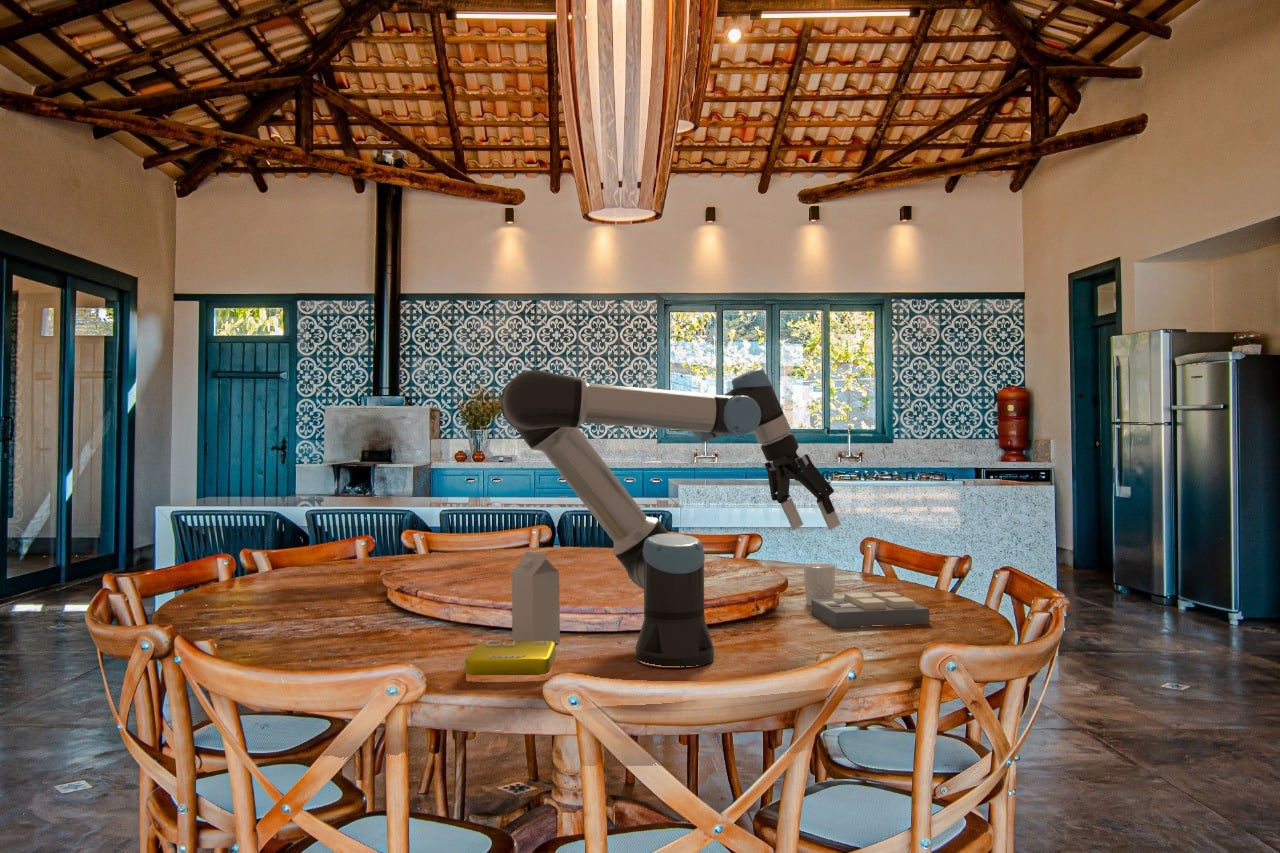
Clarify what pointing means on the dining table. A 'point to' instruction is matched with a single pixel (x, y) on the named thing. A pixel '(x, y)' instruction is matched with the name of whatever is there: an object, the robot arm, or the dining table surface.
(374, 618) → the dining table surface
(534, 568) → the milk carton
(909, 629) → the dining table surface
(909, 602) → the button
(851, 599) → the button
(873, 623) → the board
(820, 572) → the white cup
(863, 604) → the button
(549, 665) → the element tile
